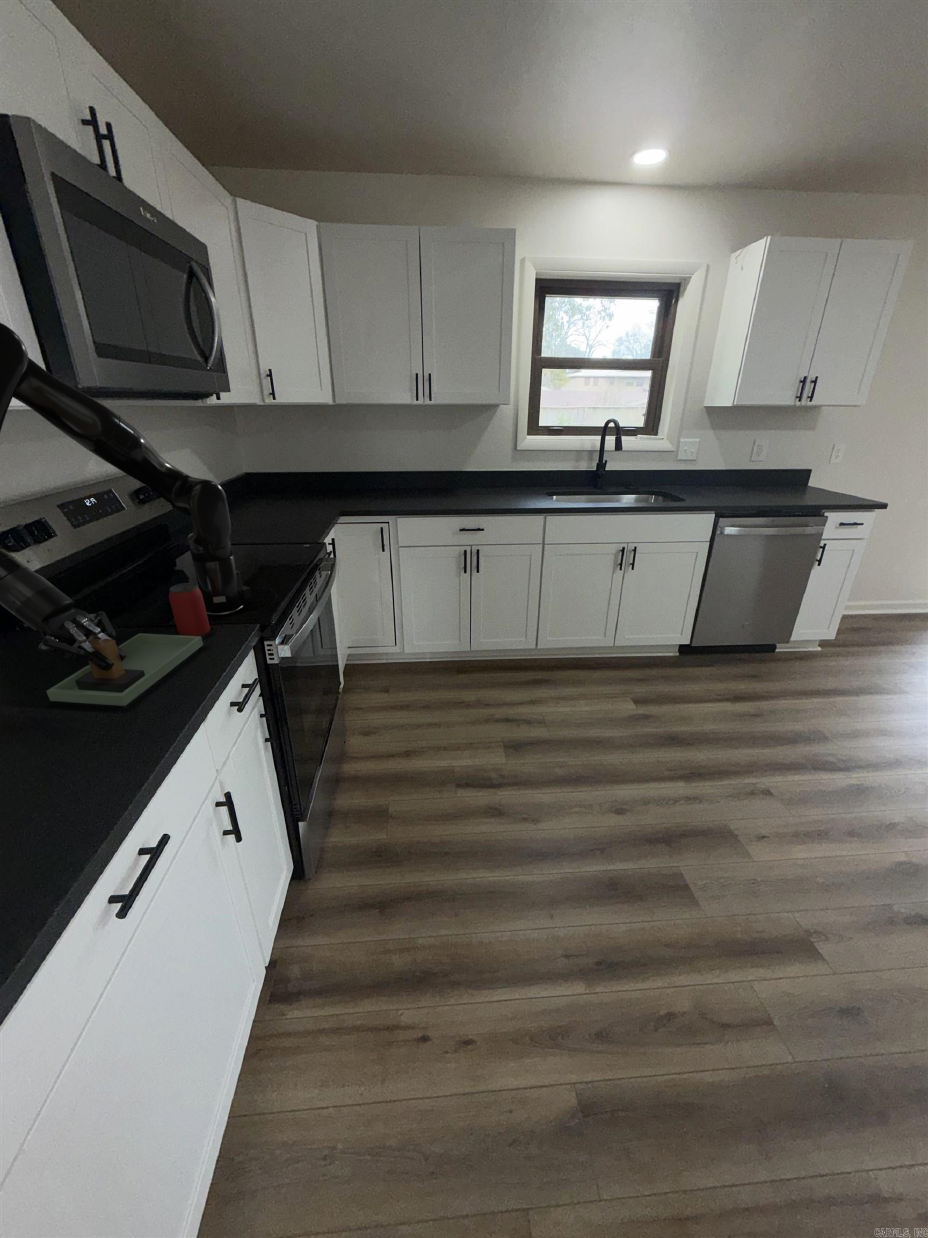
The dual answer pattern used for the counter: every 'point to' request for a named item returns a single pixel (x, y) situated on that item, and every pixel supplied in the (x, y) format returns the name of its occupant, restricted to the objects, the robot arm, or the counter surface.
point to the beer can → (189, 610)
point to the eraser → (112, 679)
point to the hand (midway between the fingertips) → (116, 663)
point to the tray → (141, 654)
